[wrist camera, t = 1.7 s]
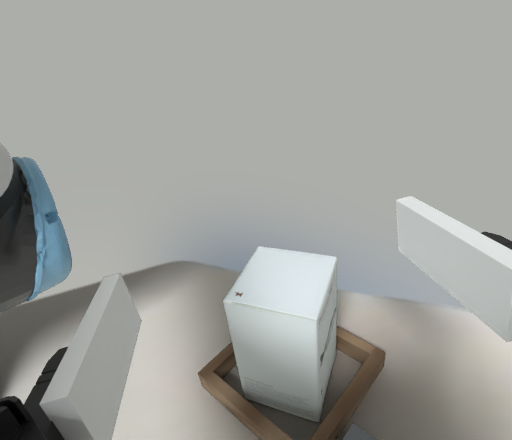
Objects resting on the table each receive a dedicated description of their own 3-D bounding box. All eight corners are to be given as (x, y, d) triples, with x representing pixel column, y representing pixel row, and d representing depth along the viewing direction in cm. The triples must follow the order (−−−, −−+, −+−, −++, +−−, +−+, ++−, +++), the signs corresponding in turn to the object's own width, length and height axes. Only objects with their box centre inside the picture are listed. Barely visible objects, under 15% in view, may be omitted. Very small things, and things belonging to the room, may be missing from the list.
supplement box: (320, 426, 29) (317, 322, 22) (241, 399, 32) (218, 299, 25) (338, 354, 34) (339, 255, 28) (270, 337, 37) (256, 242, 31)
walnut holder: (202, 385, 33) (197, 373, 32) (282, 308, 41) (281, 296, 40) (307, 482, 26) (306, 470, 24) (383, 365, 33) (385, 352, 32)
